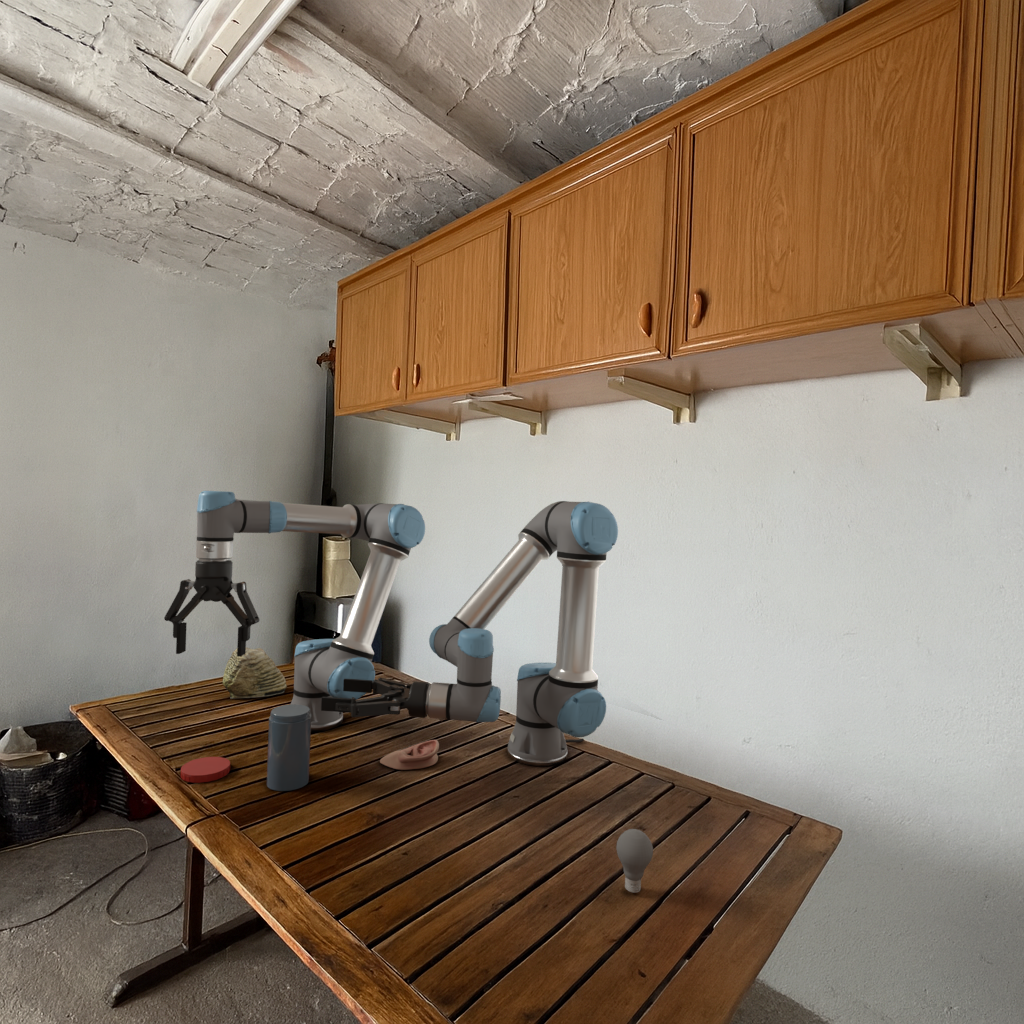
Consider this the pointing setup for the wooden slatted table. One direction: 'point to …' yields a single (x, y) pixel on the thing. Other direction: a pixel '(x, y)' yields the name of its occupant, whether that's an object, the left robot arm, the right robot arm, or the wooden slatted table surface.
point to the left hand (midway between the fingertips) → (211, 653)
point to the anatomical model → (413, 756)
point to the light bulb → (634, 857)
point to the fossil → (253, 675)
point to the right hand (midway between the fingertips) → (333, 693)
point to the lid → (205, 769)
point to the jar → (288, 747)
